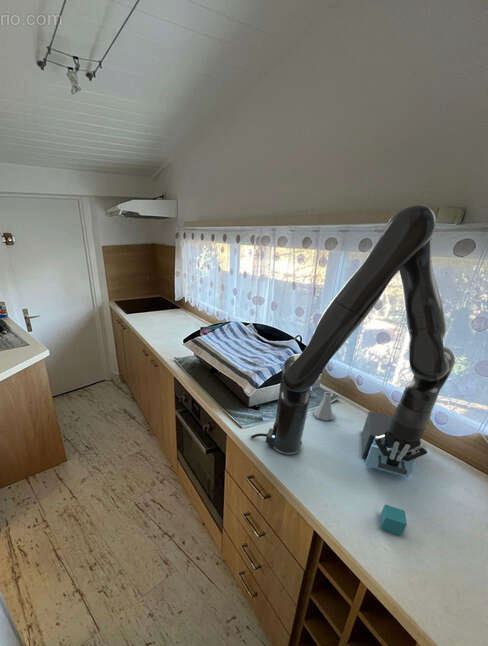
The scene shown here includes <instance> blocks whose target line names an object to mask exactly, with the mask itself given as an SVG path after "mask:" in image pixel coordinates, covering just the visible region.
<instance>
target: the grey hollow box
mask: <svg viewBox="0 0 488 646" xmlns="http://www.w3.org/2000/svg"><path fill="white" fill-rule="evenodd" d="M392 418H393V415H390V414H386V413H380V412H376V411H371V410H369V411H368V413H367V416H366V419H365V421H364V425H363V428H362V431H361V458H362V459H365V460H366V459H367V456H368V452H367V451H368V448H369V445H370V442H371V439H372V437H374V438H375V435H379V436H382V435H384V433H385V432H386V431H388V429H389V426H390V423H391V421H392ZM385 440H386V439H385ZM414 449H415V448H414Z"/></svg>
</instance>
